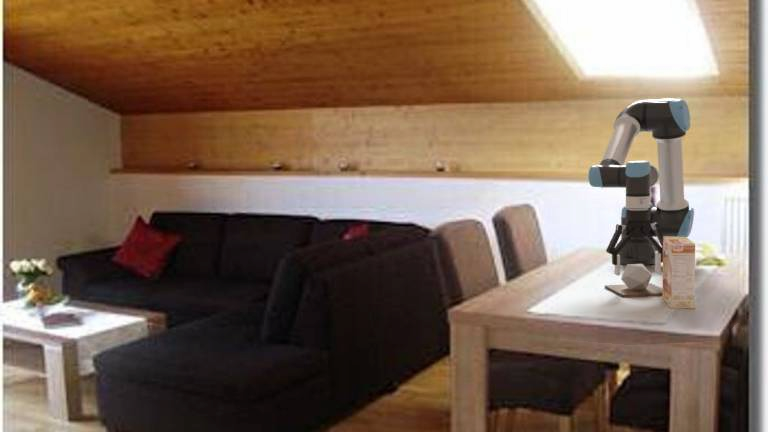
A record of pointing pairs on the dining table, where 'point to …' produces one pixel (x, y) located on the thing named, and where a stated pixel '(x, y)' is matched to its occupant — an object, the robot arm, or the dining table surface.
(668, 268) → the coffeecake box
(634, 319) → the dining table surface
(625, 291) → the walnut board
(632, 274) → the die
